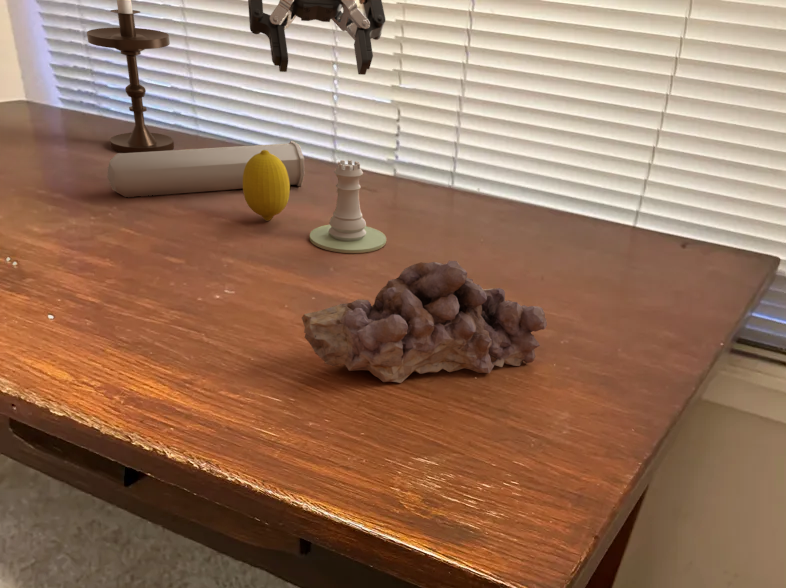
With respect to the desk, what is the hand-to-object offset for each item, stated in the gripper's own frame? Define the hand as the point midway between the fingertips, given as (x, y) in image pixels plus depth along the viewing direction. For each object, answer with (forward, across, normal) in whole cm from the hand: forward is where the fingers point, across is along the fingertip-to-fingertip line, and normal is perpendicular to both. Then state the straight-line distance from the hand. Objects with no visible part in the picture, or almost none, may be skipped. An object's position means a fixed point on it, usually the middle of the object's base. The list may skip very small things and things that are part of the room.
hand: (324, 68), depth 86 cm
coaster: (+14, +2, +11) cm, 18 cm away
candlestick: (-16, -19, +41) cm, 48 cm away
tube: (0, -12, +25) cm, 28 cm away
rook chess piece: (+14, +2, +11) cm, 17 cm away
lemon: (+9, -6, +16) cm, 19 cm away
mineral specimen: (+37, +2, -12) cm, 38 cm away
